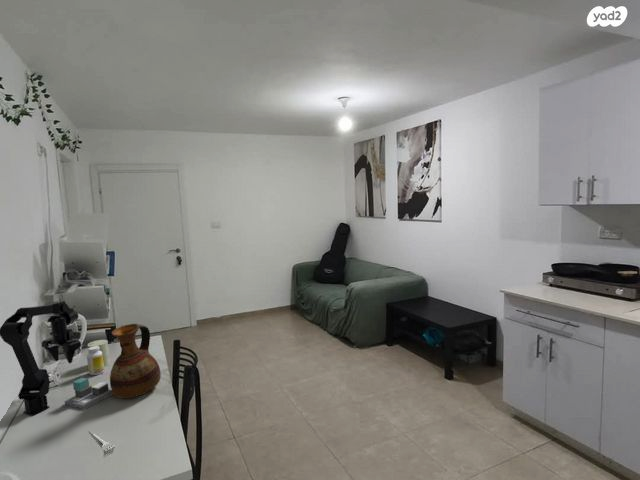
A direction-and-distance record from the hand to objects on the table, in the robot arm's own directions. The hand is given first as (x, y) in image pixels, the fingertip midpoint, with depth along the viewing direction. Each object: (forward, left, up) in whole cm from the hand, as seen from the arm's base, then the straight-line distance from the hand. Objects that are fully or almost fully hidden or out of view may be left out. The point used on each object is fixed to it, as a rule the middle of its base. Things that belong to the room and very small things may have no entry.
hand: (63, 361), depth 174 cm
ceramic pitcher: (+8, -35, -12) cm, 38 cm away
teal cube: (-6, -19, -7) cm, 21 cm away
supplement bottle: (+15, 0, -12) cm, 19 cm away
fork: (-24, -53, -13) cm, 60 cm away
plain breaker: (-1, -24, -10) cm, 26 cm away
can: (+23, +8, -12) cm, 27 cm away
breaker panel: (-4, -21, -12) cm, 25 cm away
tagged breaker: (-5, -19, -10) cm, 22 cm away
